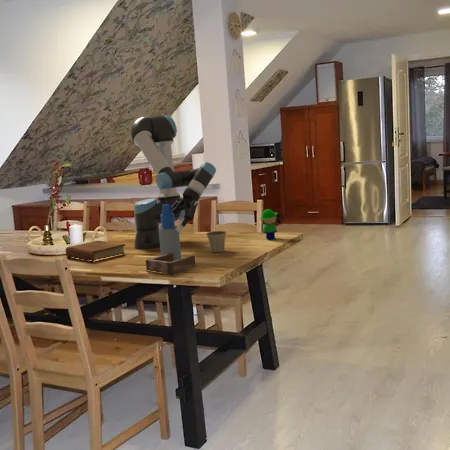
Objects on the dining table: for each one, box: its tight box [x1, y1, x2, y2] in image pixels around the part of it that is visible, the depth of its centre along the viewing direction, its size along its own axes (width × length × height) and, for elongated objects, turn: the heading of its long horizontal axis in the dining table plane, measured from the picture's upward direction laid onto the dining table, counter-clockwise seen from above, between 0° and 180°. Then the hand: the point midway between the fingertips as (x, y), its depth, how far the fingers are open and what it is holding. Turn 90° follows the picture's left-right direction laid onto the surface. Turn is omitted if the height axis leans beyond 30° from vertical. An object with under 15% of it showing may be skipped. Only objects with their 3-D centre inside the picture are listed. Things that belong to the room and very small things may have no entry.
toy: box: [260, 208, 281, 241], centre depth 298 cm, size 9×9×15 cm
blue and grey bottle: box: [159, 204, 182, 261], centre depth 267 cm, size 9×9×25 cm
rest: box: [145, 253, 197, 276], centre depth 250 cm, size 15×14×5 cm
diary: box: [65, 240, 126, 261], centre depth 291 cm, size 23×19×6 cm
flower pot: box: [206, 230, 227, 253], centre depth 279 cm, size 9×9×9 cm
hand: (169, 230), depth 266 cm, fingers open, 13 cm apart
